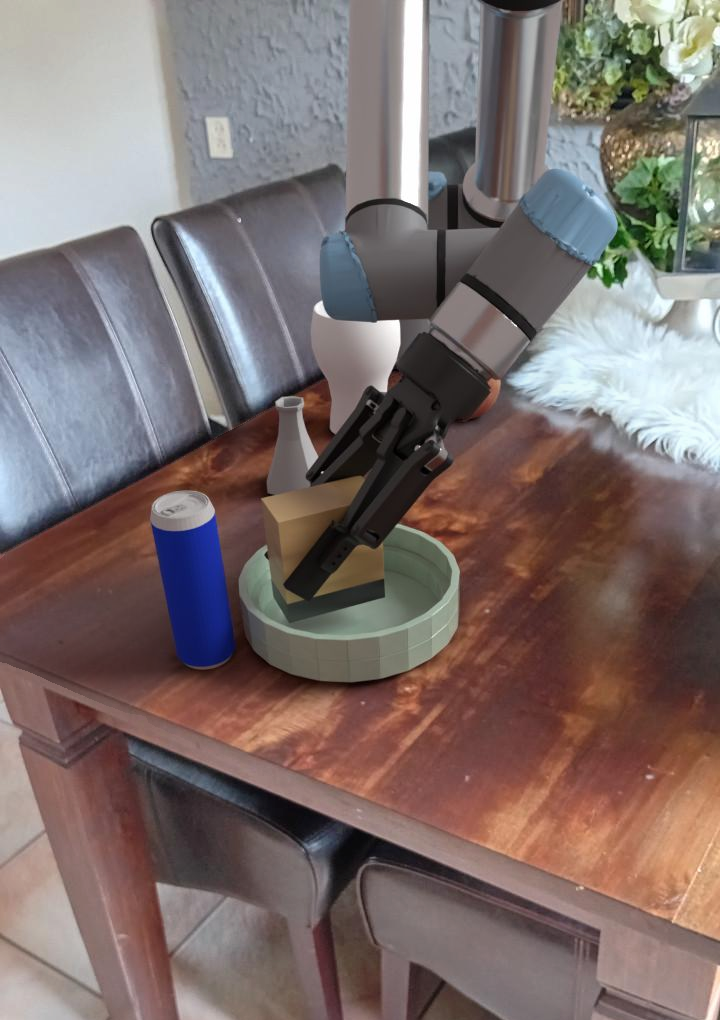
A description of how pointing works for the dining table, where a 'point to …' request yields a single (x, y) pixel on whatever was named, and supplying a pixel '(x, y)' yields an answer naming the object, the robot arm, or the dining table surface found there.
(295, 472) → the flask
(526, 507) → the dining table surface
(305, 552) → the eraser
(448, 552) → the bowl
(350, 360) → the cup
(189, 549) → the beverage can
